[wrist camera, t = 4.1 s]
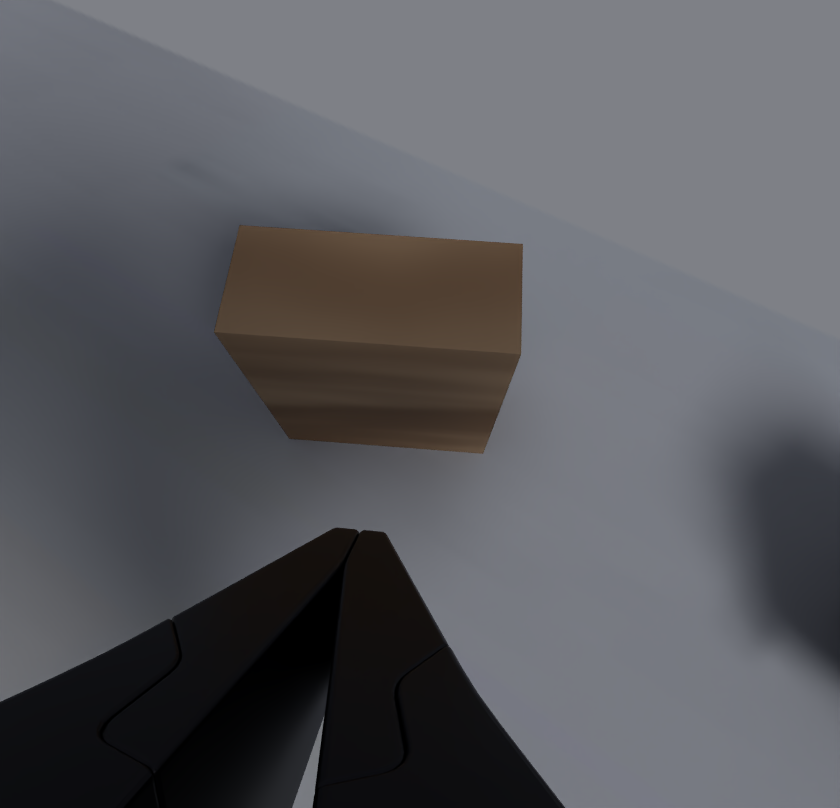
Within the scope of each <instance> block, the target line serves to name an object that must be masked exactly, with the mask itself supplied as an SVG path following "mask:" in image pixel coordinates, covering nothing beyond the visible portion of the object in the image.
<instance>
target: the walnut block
mask: <svg viewBox="0 0 840 808" xmlns="http://www.w3.org/2000/svg"><path fill="white" fill-rule="evenodd" d="M522 259H523V244H514V243H499V242H484V241H469V240H454V239H439V238H424V237H409V236H394V235H379V234H364V233H349V232H334V231H319V230H304V229H288V228H273V227H258V226H243V225H240V226H239V230H238V234H237V239H236V243H235V247H234V251H233V255H232V259H231V263H230V268H229V272H228V276H227V280H226V284H225V288H224V292H223V297H222V301H221V305H220V309H219V313H218V317H217V321H216V325H215V330H214V333H215V334H216V336H217V337H218V339H219V340H220V341H221V343H222V344H223V346H224V347H225V348H226V350H227V351H228V353H229V354H230V355H231V357H232V358H233V360H234V361H235V362H236V364H237V365H238V367H239V368H240V370H241V371H242V372H243V374H244V375H245V377H246V378H247V379H248V381H249V382H250V384H251V385H252V386H253V388H254V389H255V391H256V392H257V394H258V395H259V396H260V398H261V399H262V401H263V402H264V403H265V405H266V406H267V408H268V409H269V410H270V412H271V413H272V415H273V416H274V417H275V419H276V420H277V422H278V423H279V425H280V426H281V427H282V429H283V430H284V432H285V433H286V434H287V436H288V437H289V439H300V440H313V441H326V442H339V443H352V444H365V445H378V446H391V447H404V448H417V449H430V450H443V451H456V452H469V453H482V454H483V452H484V450H485V447H486V444H487V442H488V439H489V437H490V434H491V431H492V429H493V426H494V424H495V421H496V418H497V416H498V413H499V410H500V408H501V405H502V403H503V400H504V397H505V395H506V392H507V390H508V387H509V384H510V382H511V379H512V377H513V374H514V371H515V369H516V366H517V363H518V361H519V358H520V356H521V326H522Z"/></svg>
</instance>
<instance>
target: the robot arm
mask: <svg viewBox="0 0 840 808" xmlns="http://www.w3.org/2000/svg"><path fill="white" fill-rule="evenodd" d="M324 714H325V716H324ZM323 717H324V723H323V731H322V739H321V747H320V755H319V763H318V771H317V778H316V786H315V795H314V801H313V808H565V807H564V806H563V804H562V803H561V802H560V800H559V799H558V798H557V797H556V795H555V794H554V793H553V791H552V790H551V789H550V788H549V786H548V785H547V784H546V782H545V781H544V780H543V778H542V777H541V776H540V775H539V773H538V772H537V771H536V769H535V768H534V767H533V766H532V764H531V763H530V762H529V760H528V759H527V758H526V757H525V755H524V754H523V753H522V751H521V750H520V749H519V748H518V746H517V745H516V744H515V742H514V741H513V740H512V738H511V737H510V736H509V735H508V733H507V732H506V731H505V729H504V728H503V727H502V726H501V724H500V723H499V722H498V720H497V719H496V717H495V716H494V715H493V713H492V712H491V711H490V709H489V708H488V706H487V705H486V704H485V702H484V701H483V700H482V698H481V697H480V696H479V694H478V693H477V691H476V689H475V688H474V686H473V685H472V683H471V681H470V680H469V678H468V677H467V675H466V673H465V672H464V670H463V669H462V667H461V665H460V663H459V662H458V660H457V658H456V656H455V654H454V653H453V651H452V649H451V648H450V647H449V645H448V643H447V642H446V640H445V638H444V636H443V635H442V633H441V631H440V629H439V627H438V626H437V624H436V622H435V620H434V618H433V617H432V615H431V613H430V611H429V610H428V608H427V606H426V604H425V602H424V601H423V599H422V597H421V595H420V593H419V592H418V590H417V588H416V586H415V585H414V583H413V581H412V579H411V577H410V576H409V574H408V572H407V570H406V568H405V567H404V565H403V563H402V561H401V560H400V558H399V556H398V554H397V552H396V551H395V549H394V547H393V545H392V543H391V542H390V540H389V538H388V536H387V535H386V534H385V533H384V532H378V531H367V530H363V531H361V532H360V533H359V532H358V531H357V530H355V529H346V528H334V529H331V530H330V531H328V532H326V533H324V534H322V535H321V536H319V537H317V538H315V539H313V540H312V541H310V542H308V543H306V544H304V545H303V546H301V547H299V548H297V549H295V550H294V551H292V552H290V553H288V554H286V555H285V556H283V557H281V558H279V559H277V560H275V561H274V562H272V563H270V564H268V565H266V566H265V567H263V568H261V569H259V570H257V571H256V572H254V573H252V574H250V575H248V576H247V577H245V578H243V579H241V580H239V581H238V582H236V583H234V584H232V585H230V586H229V587H227V588H225V589H223V590H221V591H219V592H218V593H216V594H214V595H212V596H210V597H209V598H207V599H205V600H203V601H201V602H200V603H198V604H196V605H194V606H192V607H191V608H189V609H187V610H185V611H183V612H181V613H180V614H178V615H176V616H174V617H173V618H172V620H170V619H167V620H165V621H163V622H161V623H160V624H158V625H156V626H154V627H152V628H151V629H149V630H147V631H145V632H143V633H141V634H139V635H138V636H136V637H134V638H132V639H130V640H128V641H126V642H124V643H122V644H120V645H119V646H117V647H115V648H113V649H111V650H109V651H107V652H105V653H103V654H101V655H99V656H97V657H95V658H93V659H91V660H89V661H87V662H85V663H83V664H80V665H78V666H76V667H74V668H72V669H70V670H68V671H66V672H64V673H62V674H60V675H58V676H55V677H53V678H51V679H49V680H47V681H45V682H42V683H40V684H38V685H36V686H34V687H32V688H30V689H27V690H25V691H23V692H21V693H19V694H17V695H14V696H12V697H10V698H8V699H6V700H4V701H1V702H0V808H292V806H293V803H294V800H295V798H296V795H297V792H298V789H299V786H300V783H301V780H302V777H303V775H304V772H305V769H306V766H307V763H308V760H309V757H310V754H311V752H312V749H313V746H314V743H315V740H316V737H317V734H318V731H319V729H320V726H321V723H322V720H323Z"/></svg>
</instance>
